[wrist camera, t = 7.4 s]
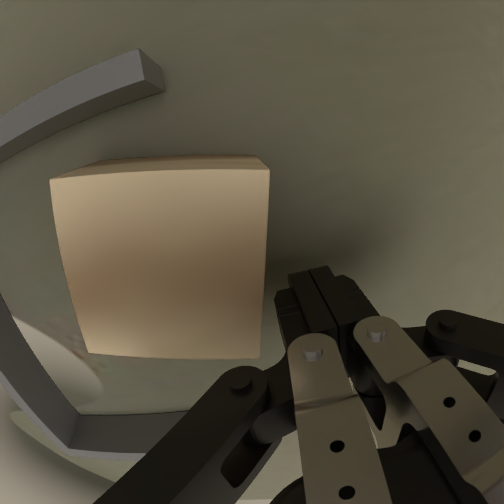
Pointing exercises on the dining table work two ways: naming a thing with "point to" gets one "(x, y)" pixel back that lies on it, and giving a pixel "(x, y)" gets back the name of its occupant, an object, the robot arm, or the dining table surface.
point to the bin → (3, 326)
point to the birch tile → (166, 254)
